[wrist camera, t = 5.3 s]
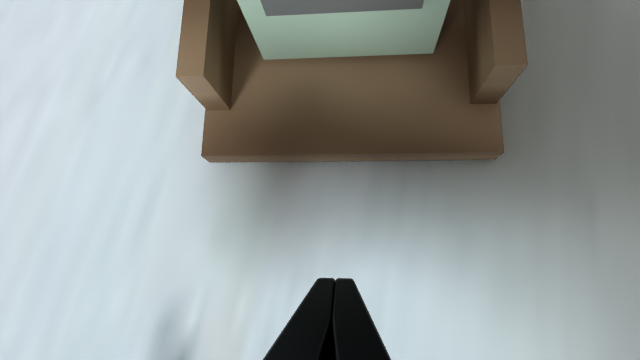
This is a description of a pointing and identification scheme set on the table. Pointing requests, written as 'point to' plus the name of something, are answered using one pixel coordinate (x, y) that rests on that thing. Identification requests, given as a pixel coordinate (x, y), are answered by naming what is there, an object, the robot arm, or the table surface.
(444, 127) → the brown open tray
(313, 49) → the pale green block
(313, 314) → the robot arm
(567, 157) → the table surface
